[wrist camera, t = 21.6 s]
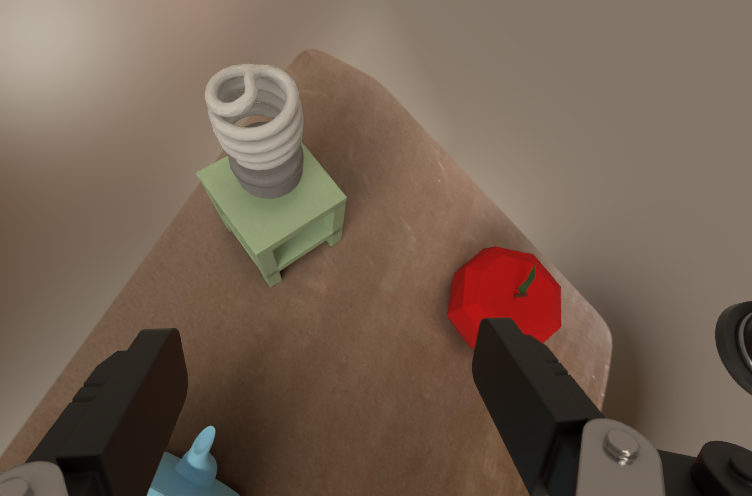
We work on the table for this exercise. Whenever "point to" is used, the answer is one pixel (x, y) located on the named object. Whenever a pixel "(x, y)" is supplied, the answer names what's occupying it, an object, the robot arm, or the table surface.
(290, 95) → the light bulb
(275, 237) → the green side table
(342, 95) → the table surface
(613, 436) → the robot arm
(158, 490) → the teapot
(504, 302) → the apple
